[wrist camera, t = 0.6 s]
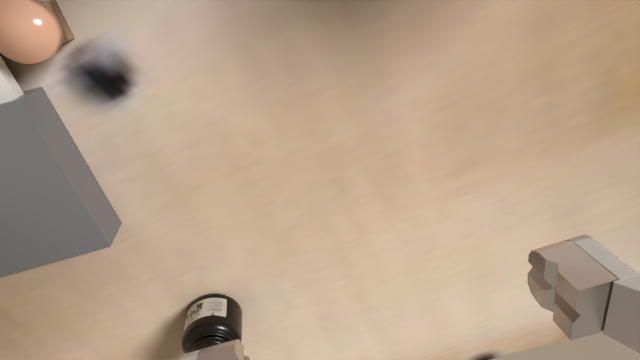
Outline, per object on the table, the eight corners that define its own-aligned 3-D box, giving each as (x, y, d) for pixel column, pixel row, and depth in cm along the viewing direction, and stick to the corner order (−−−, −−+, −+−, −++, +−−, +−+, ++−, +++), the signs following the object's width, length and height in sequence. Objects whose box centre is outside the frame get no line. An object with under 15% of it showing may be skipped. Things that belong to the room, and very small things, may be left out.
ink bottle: (218, 282, 63) (213, 344, 53) (254, 310, 67) (256, 373, 57) (173, 313, 65) (159, 379, 54) (211, 339, 69) (204, 405, 58)
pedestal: (18, 9, 42) (-3, 13, 38) (55, 0, 42) (38, 2, 39) (39, 47, 44) (21, 54, 40) (74, 38, 44) (60, 44, 40)
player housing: (-115, 127, 45) (-157, 146, 40) (41, 86, 46) (18, 100, 41) (-6, 258, 55) (-29, 285, 50) (121, 223, 56) (110, 246, 51)
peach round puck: (-20, 4, 38) (-32, 6, 36) (42, -11, 38) (32, -10, 36) (17, 66, 41) (7, 70, 39) (74, 51, 41) (67, 55, 39)
